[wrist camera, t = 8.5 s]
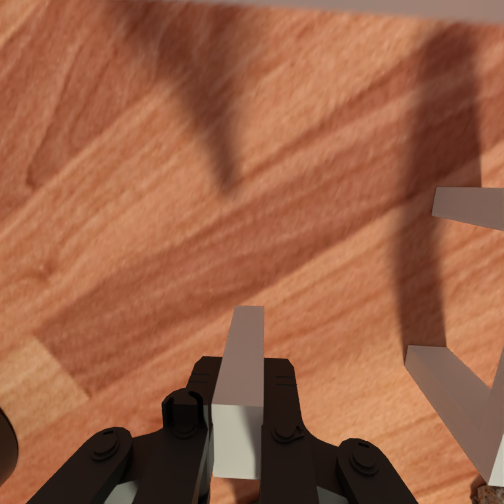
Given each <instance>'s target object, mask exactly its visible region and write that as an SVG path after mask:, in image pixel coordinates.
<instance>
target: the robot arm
mask: <svg viewBox="0 0 504 504" xmlns="http://www.w3.org/2000/svg"><path fill="white" fill-rule="evenodd" d="M161 404H162V417H163V428H162V429H160V430H158V431H156V432H153V433H150V434H146V435H142V436H138V437H134V438H132V436H131V434H130V432H129V431H128V430H126V429H125V428H123V427H111V428H107V429H104V430H102V431H100V432H98V433H96V434H94V435H93V436H92V437H91V438H89V439H88V440H87V441H86V442H85V443H84V444H83V445H82V446H81V447H80V448H79V449H78V450H77V451H76V452H75V453H74V454H73V455H72V456H71V457H70V458H69V459H68V460H67V461H66V462H65V464H64V465H63V466H62V467H61V468H60V469H59V470H58V471H57V472H56V473H55V474H54V475H53V476H52V477H51V478H50V479H49V480H48V481H47V482H46V483H45V484H44V485H43V486H42V487H41V488H40V489H39V490H38V491H37V493H36V494H35V495H34V496H33V497H32V498H31V499H30V500H29V501H28V502H27V503H26V504H209V503H210V482H211V476H212V471H213V477H224V478H240V479H257V480H260V501H259V504H418V502H417V501H416V499H415V498H414V496H413V495H412V493H411V492H410V490H409V489H408V488H407V486H406V485H405V483H404V482H403V480H402V479H401V477H400V476H399V474H398V473H397V472H396V470H395V469H394V467H393V466H392V464H391V463H390V461H389V460H388V458H387V457H386V456H385V455H384V454H383V453H382V451H381V450H380V449H379V448H378V447H376V446H375V445H373V444H372V443H370V442H368V441H365V440H362V439H359V438H349V439H347V440H345V441H342V443H341V444H340V445H339V447H337V446H334V445H332V444H329V443H326V442H324V441H321V440H319V439H317V438H316V437H315V436H313V435H312V434H311V433H310V432H309V431H308V430H307V429H306V427H305V425H304V424H303V420H302V416H301V410H300V403H299V397H298V391H297V384H296V379H295V371H294V367H293V365H292V364H291V363H290V361H289V360H288V359H280V358H264V306H236V305H235V309H234V313H233V317H232V321H231V326H230V330H229V334H228V338H227V342H226V346H225V350H224V354H223V357H211V356H203V357H202V358H201V359H200V360H199V361H197V362H196V363H195V365H194V368H193V370H192V373H191V376H190V378H189V381H188V383H187V386H186V388H181V389H179V390H176V391H173V392H172V393H171V394H169V395H168V396H166V398H165V399H164V400H163V402H162V403H161ZM17 459H18V450H17V443H16V440H15V437H14V434H13V432H12V430H11V428H10V426H9V424H8V423H7V421H6V419H5V418H4V417H3V415H2V414H1V413H0V487H1V486H2V485H3V484H4V482H5V481H6V480H7V479H8V478H9V477H10V476H11V474H12V473H13V471H14V469H15V467H16V464H17Z"/></svg>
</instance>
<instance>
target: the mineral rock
mask: <svg viewBox="0 0 504 504" xmlns="http://www.w3.org/2000/svg"><path fill="white" fill-rule="evenodd" d="M477 490H478V495H475V496H474V497H473V498H471V499H472V504H504V487H502V486H491V485H487V484H486V485H485V486H480V487H478V488H477Z"/></svg>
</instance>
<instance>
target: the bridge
mask: <svg viewBox="0 0 504 504" xmlns="http://www.w3.org/2000/svg"><path fill="white" fill-rule="evenodd" d="M431 216H436V217H441V218H445V219H450V220H455V221H459V222H464V223H469V224H473V225H478V226H482V227H487V228H492V229H496V230H501V231H504V188H482V187H436V193H435V198H434V204H433V210H432V215H431ZM405 368H406V369H407V371H408V372H409V373H410V375H411V376H412V378H413V379H414V381H415V382H416V383H417V385H418V386H419V388H420V389H421V391H422V392H423V393H424V395H425V396H426V398H427V399H428V401H429V402H430V403H431V405H432V406H433V408H434V409H435V411H436V412H437V413H438V415H439V416H440V418H441V419H442V421H443V422H444V423H445V425H446V426H447V428H448V429H449V431H450V432H451V433H452V435H453V436H454V438H455V439H456V440H457V442H458V443H459V445H460V446H461V448H462V449H463V450H464V452H465V453H466V455H467V456H468V458H469V459H470V460H471V462H472V463H473V465H474V466H475V468H476V469H477V470H478V472H479V473H480V475H481V476H482V478H483V479H484V480H485V482H486V483H487V485H491V486H502V487H504V346H503V350H502V353H501V357H500V360H499V364H498V368H497V371H496V375H495V378H494V382H493V386H492V389H490V388H489V387H488V386H487V385H486V384H485V383H484V382H483V381H482V380H481V379H480V378H478V377H477V376H476V375H475V374H474V373H473V372H472V371H471V370H470V369H469V368H468V367H467V366H466V365H465V364H464V363H463V362H462V361H461V360H460V359H459V358H458V357H457V356H456V355H455V354H454V353H453V352H451V351H450V350H449V349H448V348H447V347H433V346H416V345H408V349H407V355H406V361H405Z"/></svg>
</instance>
